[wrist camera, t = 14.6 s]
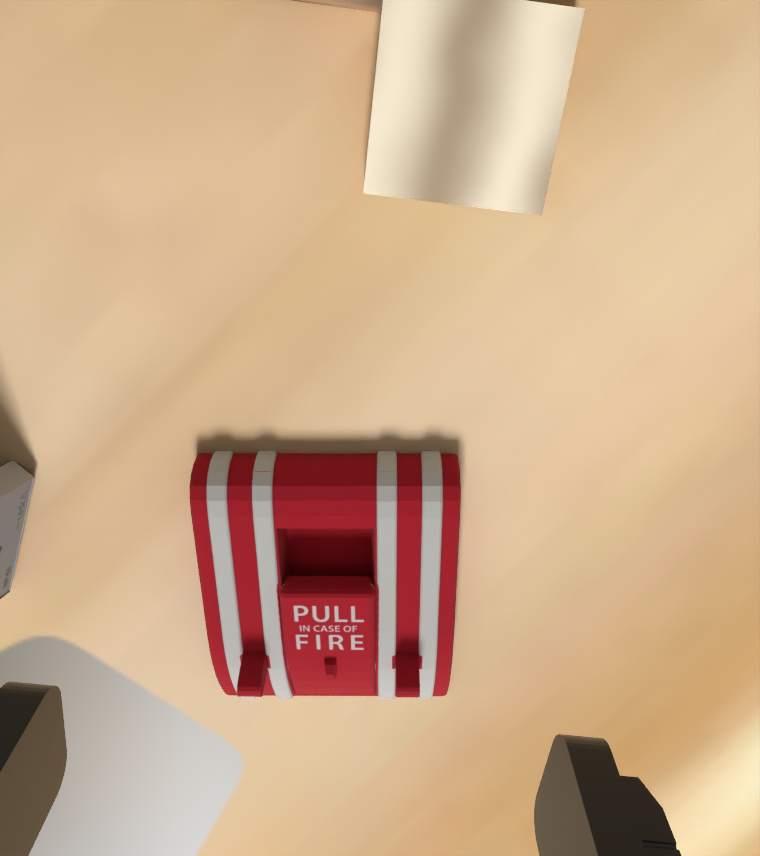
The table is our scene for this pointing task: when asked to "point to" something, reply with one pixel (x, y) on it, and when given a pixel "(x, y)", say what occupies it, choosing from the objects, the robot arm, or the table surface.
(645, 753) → the table surface
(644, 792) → the robot arm
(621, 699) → the table surface
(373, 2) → the stand
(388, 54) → the stand
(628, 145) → the table surface
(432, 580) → the fire alarm
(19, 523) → the voltmeter
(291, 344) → the table surface
